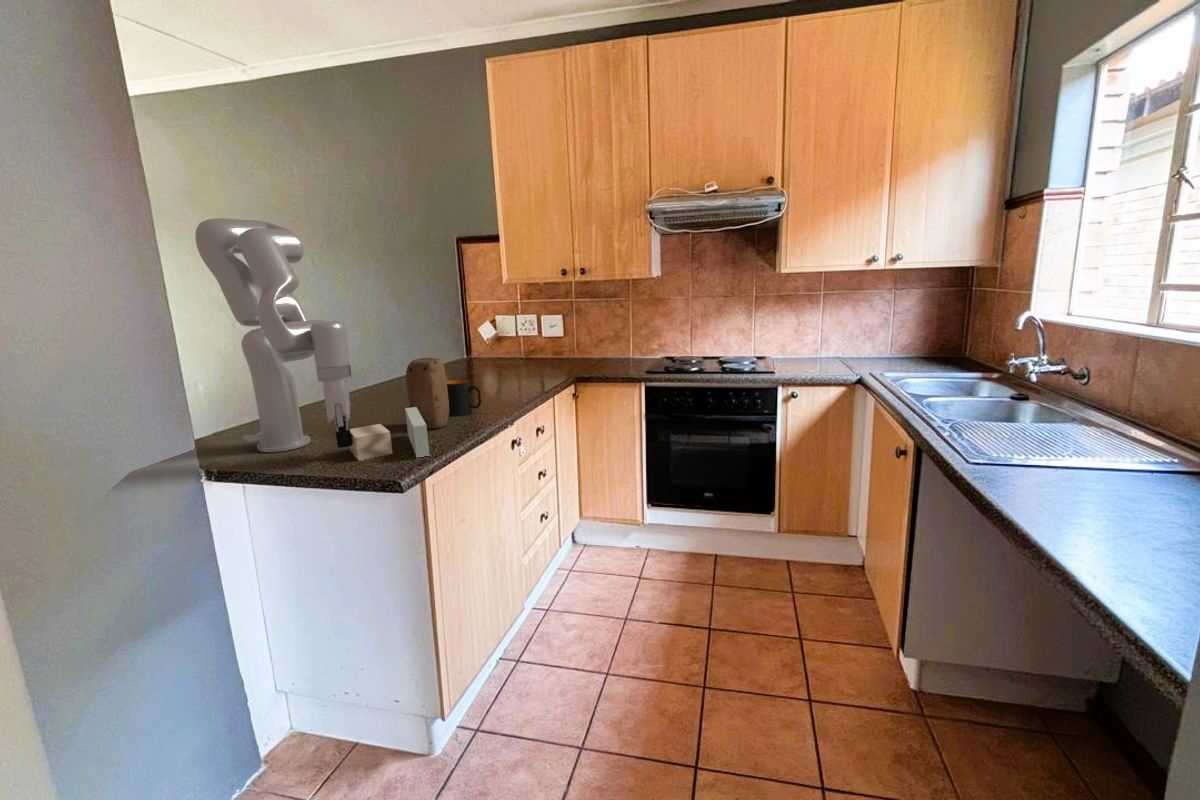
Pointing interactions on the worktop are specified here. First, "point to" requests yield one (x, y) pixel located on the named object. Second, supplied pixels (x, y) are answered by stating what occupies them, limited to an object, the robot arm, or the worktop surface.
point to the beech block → (370, 441)
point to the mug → (461, 397)
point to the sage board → (417, 432)
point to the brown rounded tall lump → (428, 390)
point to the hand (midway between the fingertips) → (345, 446)
